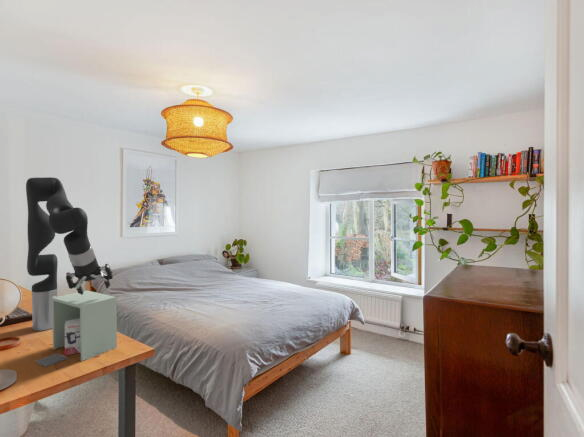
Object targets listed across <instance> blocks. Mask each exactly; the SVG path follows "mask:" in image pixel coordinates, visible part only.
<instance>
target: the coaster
mask: <svg viewBox="0 0 584 437" xmlns="http://www.w3.org/2000/svg"><path fill="white" fill-rule="evenodd" d="M68 358H69V357H67V356H66V355H63V354H60V353H58V352H57V353H55V354H51V355H48V356H46V357H43V358H40V359H37V360H35V363H37V364H39V365H41V366H42V367H46V368H47V367H49V366H51V365H54V364H57V363H60V362H63V361H65V360H68Z"/></svg>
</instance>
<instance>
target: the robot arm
mask: <svg viewBox="0 0 584 437" xmlns="http://www.w3.org/2000/svg"><path fill="white" fill-rule="evenodd" d="M25 192H26V193H25V194H26V203H27V248H28V249H27V261H26V270H27V274H28V275H29V276H31V277H37V276H38V277H40V276H46V275H48V276H47V277H46V278H44V279H43V280H41V281H38V282H35V283H34V284H32V286H31V307H32V308H31V314H32V315H31V316H32V319H31V320H32V321H31V322H32V323H31V324H32V330H33V331H36V332H37V331H39V332H40V331H41V332H42V331H48V330H51V329H53V321H52V298H54V297H58V257H57V255H56V254H55V253H49V254H41V252H43V251H44V250H45V248H46V247H48V246H49V245H50V244H51V243H52V242H53V240H55V236H56V234H59V235H62V234H63V235H64V234H66V235H65V236H64V237H63V244H64V247H65V248H66V252H67V254H68V258H69V262H70V263H71V266H72V269H73V272H70V271H68V272H66V274H65V279H66V283H67V286H68V288H69V289H70V290H71V289H76V291H77V292H78V293H79V294H81V295H82V294H83V291H84V289H83V287H82V285H83V283H84V282H89V281H93V280H98V281H103V282H104V285H105V288H106V289H109V287H110V286H111V285H110V284H111V283H110V280H113V271H112V269H111V266H110V265H109V263H105V265H104V266H103V265H102V266H100V265H99V263H98V260H97V257H96V254H95V251H94V249H93V247H92V245H91V243H90V239H89V236H88V225H89V224H88V223H89V222H88V221H89V220H88V218H89V217H88V215H87V213H86V211H85V210H84V209H83V208H80V207H73V206H74V205H72V203H71V202H70V201H69V199H68V196H67V193H66V191H65V188H64V186H63V183H62V181H61V180H60V179H59V178H57V177H49V176H48V177H46V176H45V177H29V178H28V179H27V180H26V183H25ZM40 202H41V203H43V202H46V203H45V207H46V210H47V212H48V213H47V212H46V211H45V210H43V208H42V207H41V206H40V204H39V203H40ZM67 233H68V234H67ZM105 273H106V274H105ZM74 277H75V278H77V280H76V281H75V282H74V281H73V279H74Z"/></svg>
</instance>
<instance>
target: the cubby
mask: <svg viewBox="0 0 584 437" xmlns="http://www.w3.org/2000/svg"><path fill="white" fill-rule="evenodd" d="M117 314H118V313H117V297H116V296H112V295H109V294H105V293H99V292H96V291H91V290H83V294H82V295H81V294H79V293H78V291H77V292H73V293H68V294H64V295H60V296H57V297H54V298H52V321H53V328H52V349H53V350H57V349H60V348H63V347H65V321H67V320H73V319H80V345H81V352H80V361H81V362H83V361H87V360H89V359H91V358H94V357H96V356H99V355H101V354H103V353H106V352H108V351H112V350H115V349H116V348H118V336H117V334H118V331H117V328H118V326H117V324H118V323H117V320H118V319H117V317H118V316H117Z"/></svg>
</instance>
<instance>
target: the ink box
mask: <svg viewBox="0 0 584 437" xmlns="http://www.w3.org/2000/svg"><path fill="white" fill-rule="evenodd" d="M75 354H81V345H80V319H73V320H67V321H65V346H64V356H70V355H75Z"/></svg>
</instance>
